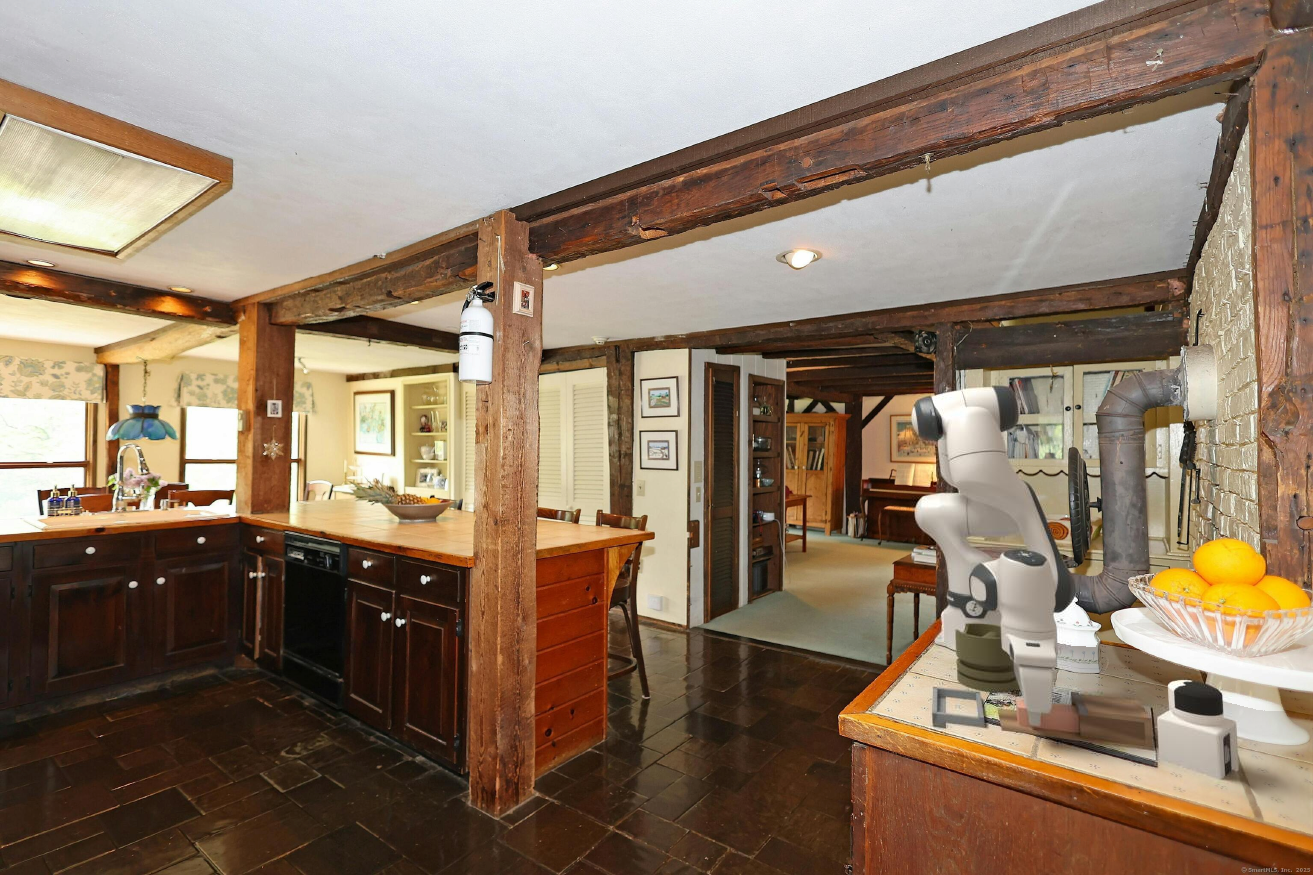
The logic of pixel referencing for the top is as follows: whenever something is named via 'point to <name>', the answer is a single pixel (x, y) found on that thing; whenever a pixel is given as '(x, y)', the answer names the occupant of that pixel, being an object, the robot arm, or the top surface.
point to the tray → (942, 717)
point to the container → (1197, 730)
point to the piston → (984, 659)
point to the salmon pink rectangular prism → (1051, 717)
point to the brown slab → (1097, 722)
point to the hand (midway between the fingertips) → (1032, 717)
